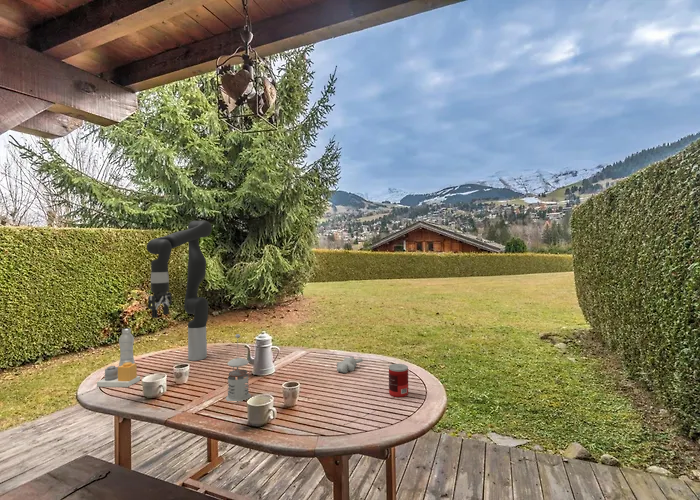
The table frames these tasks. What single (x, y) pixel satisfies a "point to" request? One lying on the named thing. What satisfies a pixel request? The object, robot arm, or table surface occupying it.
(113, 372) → the capped post
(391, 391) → the canned food
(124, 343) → the plastic bottle
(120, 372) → the domed tan cube
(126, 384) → the white rectangular plate
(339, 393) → the table surface
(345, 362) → the bunny figurine
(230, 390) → the french press
